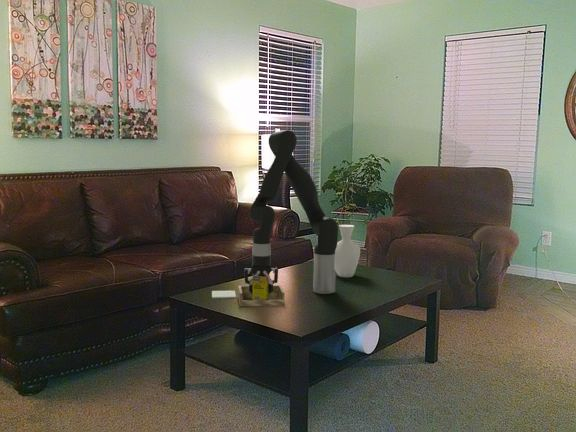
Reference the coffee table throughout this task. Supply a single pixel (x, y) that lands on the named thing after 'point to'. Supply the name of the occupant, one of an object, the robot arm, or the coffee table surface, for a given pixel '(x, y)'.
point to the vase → (346, 253)
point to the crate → (245, 293)
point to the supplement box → (260, 288)
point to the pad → (223, 294)
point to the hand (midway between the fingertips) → (260, 293)
